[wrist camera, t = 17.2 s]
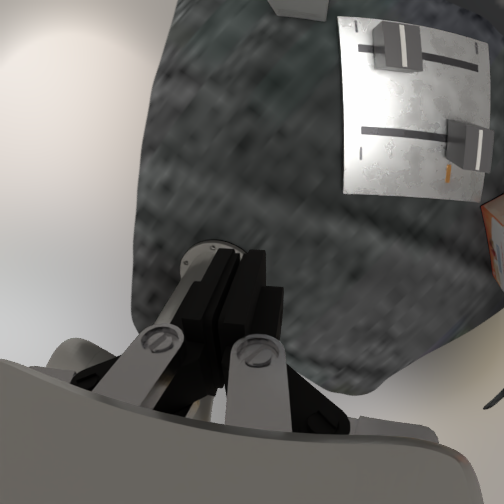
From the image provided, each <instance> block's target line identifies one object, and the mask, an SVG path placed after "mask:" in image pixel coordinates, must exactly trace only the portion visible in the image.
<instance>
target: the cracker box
mask: <svg viewBox="0 0 504 504" xmlns="http://www.w3.org/2000/svg"><path fill="white" fill-rule="evenodd" d="M481 210H482V214H483V219H484V224H485V228H486V234H487V239H488V245H489V251H490V257H491V265H492V273H493V276H494V278H495V279H496V281H497V282H498V284H499V285H500V287H501V289H502V290H503V292H504V194H503V195H501V196H499V197H497V198H496V199H494V200H492V201H490V202H488V203H486V204H484V205H482V206H481Z"/></svg>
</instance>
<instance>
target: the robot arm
mask: <svg viewBox="0 0 504 504" xmlns="http://www.w3.org/2000/svg"><path fill="white" fill-rule="evenodd" d="M180 276H181V280H180V282H179V284H178V285H177V287H176V289H175V290H174V292H173V293H172V295H171V297H170V298H169V300H168V302H167V303H166V305H165V307H164V308H163V310H162V312H161V313H160V315H159V317H158V318H157V320H156V322H155V323H154V325H152V326H149V327H148V328H146V329H144V330H143V331H142V332H141V333H140V334H139V335H138V336H137V337H136V339H135V340H134V341H133V342H132V343H131V344H130V346H129V347H128V348H127V349H126V350H125V352H124V353H123V354H122V355H120V356H117V357H116V356H114V355H113V354H111V353H109V352H108V351H106V350H104V349H102V348H100V347H99V346H97V345H95V344H93V343H91V342H89V341H87V340H84V339H81V338H71V339H68V340H66V341H64V342H63V343H62V344H61V345H60V346H59V347H58V348H57V349H56V350H55V352H54V353H53V354H52V356H51V358H50V360H49V362H48V364H47V366H46V367H38V366H30V367H26V366H24V365H21V364H18V363H15V362H12V361H8V360H5V359H0V504H484V503H483V498H482V493H481V489H480V486H479V482H478V479H477V476H476V474H475V472H474V469H473V467H472V466H471V464H470V462H469V461H468V460H467V459H466V457H465V456H463V455H462V454H461V453H459V452H458V451H456V450H454V449H451V448H449V447H447V446H444V445H441V444H439V442H438V437H437V436H436V434H435V432H434V431H432V430H431V429H430V428H429V427H426V426H422V425H416V424H408V423H401V422H394V421H387V420H381V419H374V418H369V417H364V416H360V417H359V419H356V418H351V417H347V415H346V414H345V413H344V412H343V411H342V410H341V409H340V408H338V407H337V406H336V405H335V404H334V403H332V402H331V401H330V400H329V399H327V398H326V397H325V396H324V395H323V394H322V393H320V392H319V391H318V390H317V389H316V388H314V387H313V386H312V385H311V384H310V383H309V382H307V381H306V380H305V379H304V378H303V377H301V376H300V375H299V374H298V373H297V372H296V371H294V370H293V369H292V368H291V367H290V366H289V365H288V364H286V356H285V350H284V346H283V345H282V344H281V342H280V334H281V326H282V315H283V295H284V288H283V287H273V286H266V253H265V250H249V252H248V253H245V252H244V251H243V250H242V249H240V248H238V247H237V246H235V245H233V244H230V243H228V242H223V241H218V240H209V241H203V242H200V243H197V244H196V245H194V246H192V247H191V248H190V249H189V250H188V251H187V252H186V254H185V255H184V257H183V259H182V261H181V265H180ZM224 384H225V390H226V396H227V403H226V416H225V425H224V424H217V423H212V422H210V420H211V412H212V405H213V399H214V396H215V395H216V391H217V389H218V388H223V386H224Z"/></svg>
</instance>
